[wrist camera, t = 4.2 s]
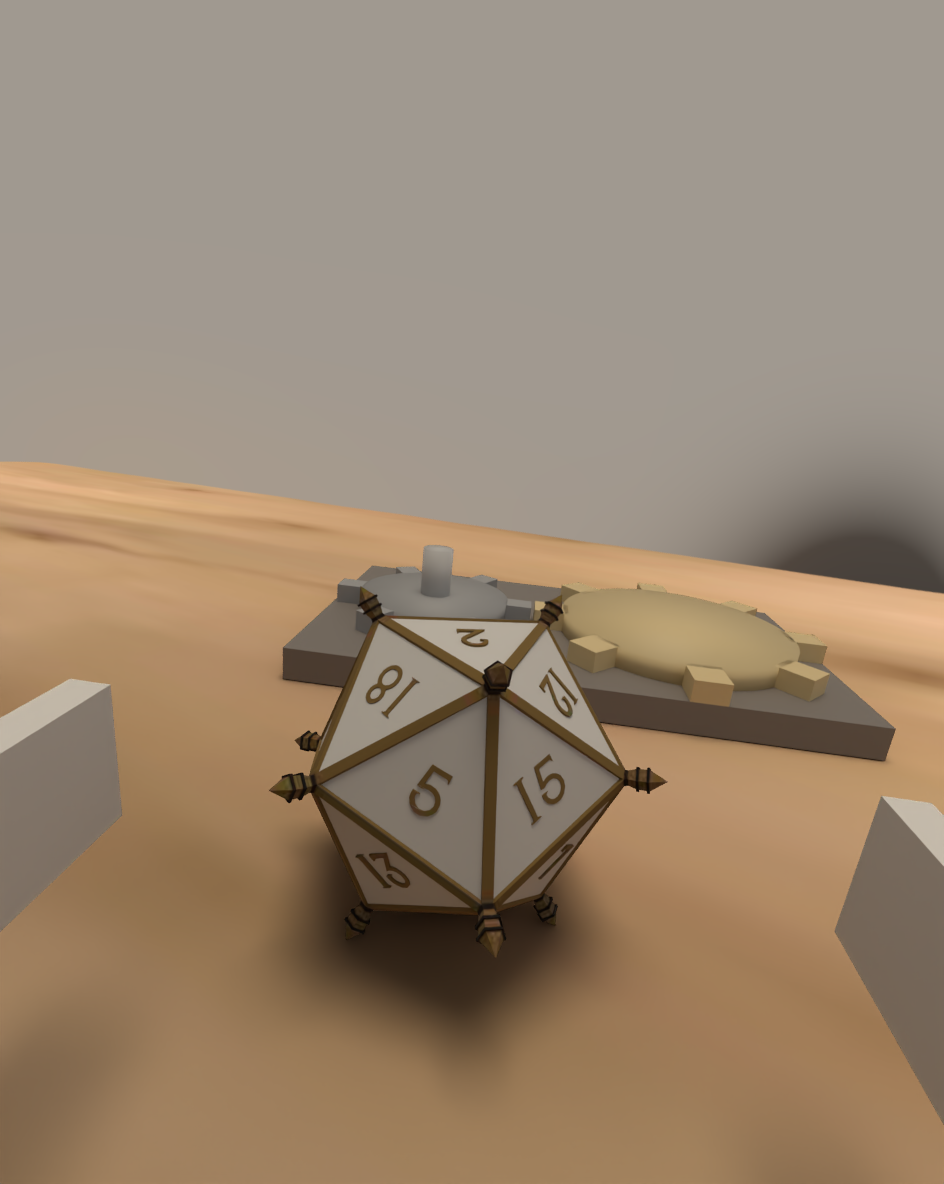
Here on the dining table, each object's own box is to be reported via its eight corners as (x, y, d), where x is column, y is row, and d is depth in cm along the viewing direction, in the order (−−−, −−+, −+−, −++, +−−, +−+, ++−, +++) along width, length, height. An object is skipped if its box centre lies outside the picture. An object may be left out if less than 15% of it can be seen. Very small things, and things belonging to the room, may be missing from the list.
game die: (365, 988, 17) (186, 687, 17) (565, 804, 21) (426, 558, 21) (532, 1201, 9) (206, 649, 9) (795, 845, 14) (583, 455, 13)
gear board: (283, 678, 27) (283, 571, 26) (371, 586, 41) (374, 514, 40) (884, 760, 25) (922, 650, 24) (759, 634, 39) (777, 560, 38)
